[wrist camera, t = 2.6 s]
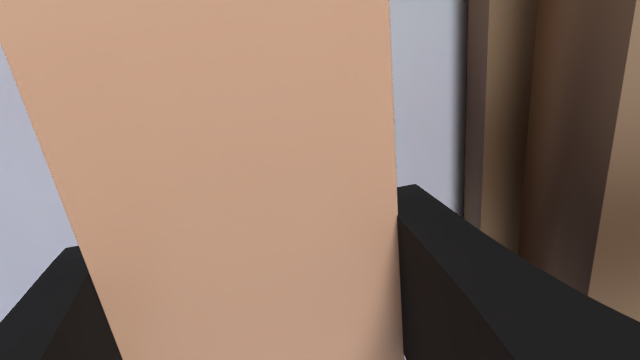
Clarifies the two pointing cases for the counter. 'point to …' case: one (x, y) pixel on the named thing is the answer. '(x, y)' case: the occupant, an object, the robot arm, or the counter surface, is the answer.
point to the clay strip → (223, 169)
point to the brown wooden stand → (558, 139)
